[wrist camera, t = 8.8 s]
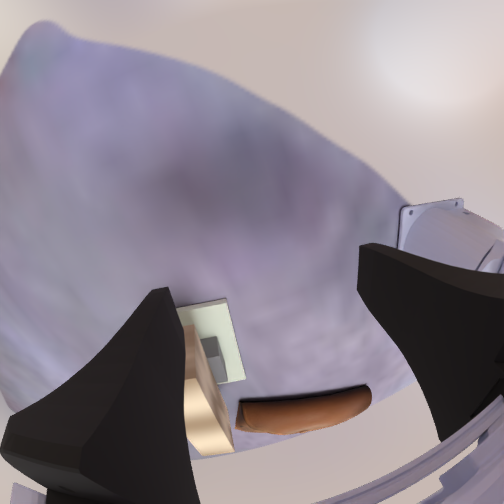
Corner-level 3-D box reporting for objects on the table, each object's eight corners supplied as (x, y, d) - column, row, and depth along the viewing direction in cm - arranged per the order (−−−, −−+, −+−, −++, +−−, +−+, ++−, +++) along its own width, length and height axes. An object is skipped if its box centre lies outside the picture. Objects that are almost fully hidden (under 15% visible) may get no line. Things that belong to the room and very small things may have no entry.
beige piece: (227, 409, 24) (234, 451, 19) (198, 414, 24) (202, 455, 19) (194, 324, 19) (195, 378, 14) (154, 330, 18) (147, 384, 14)
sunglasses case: (231, 431, 31) (241, 457, 25) (232, 388, 32) (242, 409, 26) (345, 415, 35) (369, 432, 29) (351, 376, 36) (378, 389, 30)
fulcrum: (225, 298, 22) (230, 321, 19) (245, 374, 26) (250, 397, 23) (133, 315, 21) (127, 339, 18) (171, 386, 25) (170, 409, 23)
